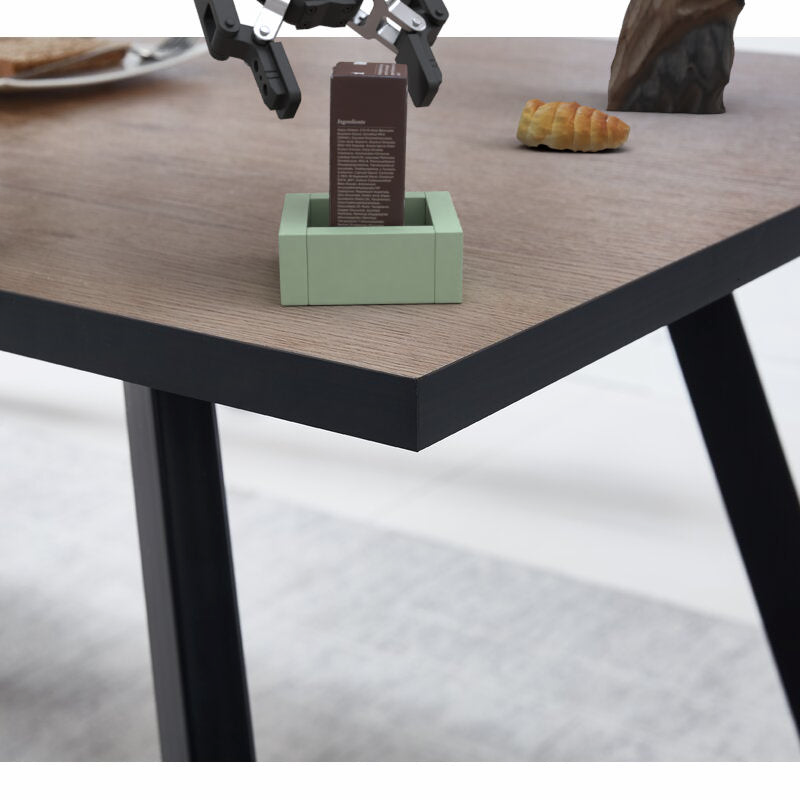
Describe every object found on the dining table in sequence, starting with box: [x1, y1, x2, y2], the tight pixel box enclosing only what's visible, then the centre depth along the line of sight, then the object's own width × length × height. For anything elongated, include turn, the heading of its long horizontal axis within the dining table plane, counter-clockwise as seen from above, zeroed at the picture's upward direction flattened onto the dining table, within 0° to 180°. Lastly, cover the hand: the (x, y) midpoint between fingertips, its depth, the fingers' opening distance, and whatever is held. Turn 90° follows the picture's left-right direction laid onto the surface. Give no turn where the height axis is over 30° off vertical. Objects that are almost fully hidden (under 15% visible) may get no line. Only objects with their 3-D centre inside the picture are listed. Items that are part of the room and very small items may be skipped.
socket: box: [277, 190, 464, 307], centre depth 75 cm, size 10×10×4 cm
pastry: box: [515, 98, 631, 153], centre depth 112 cm, size 9×7×4 cm
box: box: [328, 61, 409, 227], centre depth 74 cm, size 6×4×12 cm
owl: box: [606, 0, 746, 115], centre depth 130 cm, size 13×13×20 cm
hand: (362, 104), depth 72 cm, fingers open, 8 cm apart
